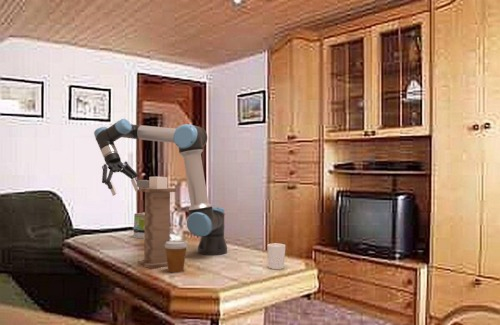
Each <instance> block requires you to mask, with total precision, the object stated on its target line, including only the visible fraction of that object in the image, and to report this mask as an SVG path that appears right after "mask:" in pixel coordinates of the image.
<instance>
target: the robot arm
mask: <svg viewBox="0 0 500 325" xmlns="http://www.w3.org/2000/svg"><path fill="white" fill-rule="evenodd" d="M93 134H94V138H95V141H96V143H97V145H98V147H99V149H100V152H101V155H102V157H103V159H104V161H105V163H103V165H102V167H101V169H102V176H101V177H102V178H101V183H102V184H105V185H106V186H107V188H108V189H109V190H110V192H111V194H112V196H116V194H118V192H117V190H116V188H115V185H114V183H113V181H112V177H113V174H115V173H122V174H124V176H127V177H128V178H129V179H130V182H131V184H132V187H133V189H134V191H135V192H137V191H138V192H139V188H140V187H137V180H138V179H137V178H138V177H139V174H138V173H137V172H136V171H135V170H134V169H133V167H131V166H130V165H129V163H128V161H127V160H126V161H124V162H122V160H121V157H120V155H119V154H120V153H118V149H117V147H116V144H115V142H116V141H117V140H119V139H120V138H124V139H125V138H126V139H131V140H132V139H133V140H143V141H153V142H161V143H172V144H175V146H176V147H177V148H178V153H179V155H180V156H182V157H183V164H184V169H185V175H186V176H185V177H186V183H187V189H188V196H189V203H190V206H189V208H188V218H187V219H186V228H187V229H188V231H189V232H190V233H191V234H192V235H193V236H196V237H200V240H199V242H198V246H197V253H198V254H201V255H206V256H207V255H209V256H210V255H211V256H212V255H213V256H215V255H224V254H227V253H228V245H227V242H226V238H225V215H226V214H225V209H224V208H223V207H219V206H218V207H216V206H213V205H212V204H210V203H209V197H208V192H207V191H208V190H207V186H206V180H205V179H206V178H205V172H204V167H203V161H202V154H203V153H202V152H204V147H205V146H206V144H207V142H208V134H207V131H206V130H205V128H203V127H201V126H198V125H193V124H190V123H188V124H186V123H185V124H182V125H179V126H178V127H177V128H172V127H162V126H154V125H153V126H151V125H142V124H141V125H140V124H132V123H130V121H129V120H128V119H126V118H121V119H120V120H117V121H116V122H115V123H114V124H112V125H110V126H109V127H107V126H100V127H98V128H96V129H95V130H94V131H93ZM108 170H109V172H108Z"/></svg>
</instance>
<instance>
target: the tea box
mask: <svg viewBox="0 0 500 325" xmlns="http://www.w3.org/2000/svg"><path fill="white" fill-rule="evenodd" d="M133 216H134V218H133V238H134V239H144V240H145V211H143V212H136V213H134V215H133Z"/></svg>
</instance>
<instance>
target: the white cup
mask: <svg viewBox="0 0 500 325" xmlns="http://www.w3.org/2000/svg"><path fill="white" fill-rule="evenodd" d="M285 257H286V244H283V243H278V242H277V243H276V242H275V243H269V244H267V264H268V266H267V267H268V269H270V268H272V269H271V270H282V269H281V268H283V269H284V268H285V259H286V258H285Z"/></svg>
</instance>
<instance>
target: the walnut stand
mask: <svg viewBox="0 0 500 325" xmlns="http://www.w3.org/2000/svg"><path fill="white" fill-rule="evenodd" d="M138 192H141V193H144V212H145V239H144V247H143V248H144V249H143V250H144V254H143V256H144V258H143V259H142V260H138V261H137V265H139V266H141V265H142V267H144V266H145V267H144V268H147V267H148V268H147V269H149V268H150V270H154V268H155V269H160V268H161V267H162V268H166V267H167V268H168V264H167V256H166V248H165V244H166V242H167V241H171V240H170V236H171V235H170V234H171V233H170V232H171V231H170V230H171V229H170V228H171V227H170V226H171V225H170V224H171V219H170V218H171V216H170V215H171V193H177V188H176V187H174V188H173V187H167V189H154V188H145V187H139V190H138Z"/></svg>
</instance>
